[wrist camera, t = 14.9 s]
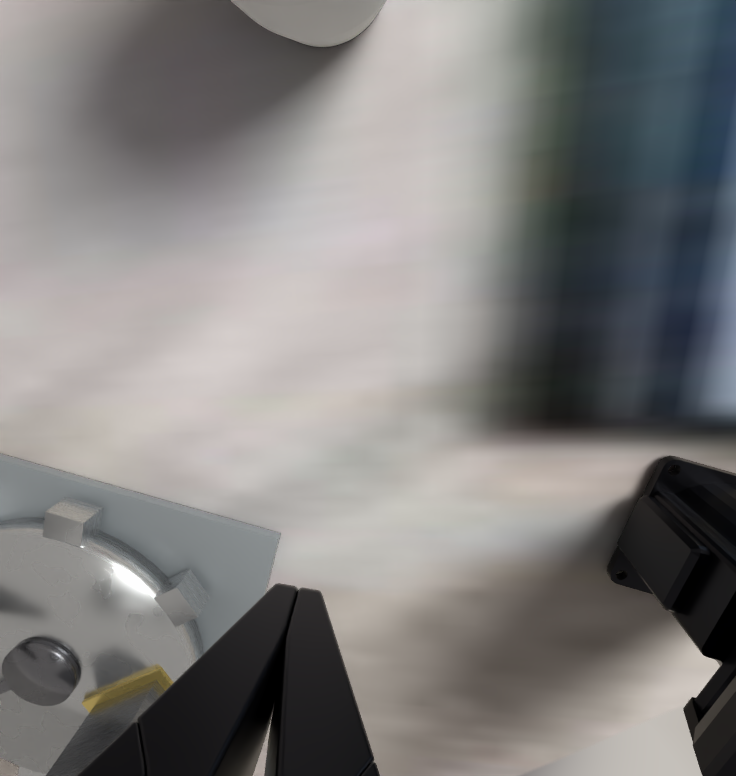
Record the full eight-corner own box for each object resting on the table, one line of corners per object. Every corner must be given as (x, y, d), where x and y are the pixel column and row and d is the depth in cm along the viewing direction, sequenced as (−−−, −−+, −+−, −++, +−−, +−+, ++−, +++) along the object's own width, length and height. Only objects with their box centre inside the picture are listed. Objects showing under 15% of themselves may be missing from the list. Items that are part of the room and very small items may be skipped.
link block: (156, 679, 23) (88, 794, 18) (201, 737, 24) (148, 863, 19) (94, 706, 24) (12, 823, 19) (140, 761, 24) (73, 887, 19)
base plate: (281, 533, 23) (277, 540, 22) (214, 798, 28) (210, 809, 28) (-91, 427, 23) (-103, 431, 22) (-89, 711, 28) (-100, 721, 28)
